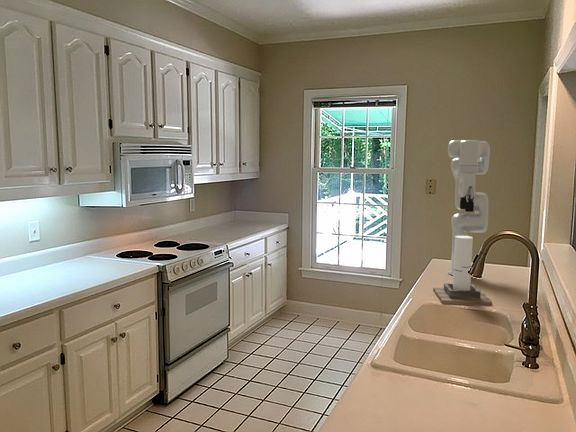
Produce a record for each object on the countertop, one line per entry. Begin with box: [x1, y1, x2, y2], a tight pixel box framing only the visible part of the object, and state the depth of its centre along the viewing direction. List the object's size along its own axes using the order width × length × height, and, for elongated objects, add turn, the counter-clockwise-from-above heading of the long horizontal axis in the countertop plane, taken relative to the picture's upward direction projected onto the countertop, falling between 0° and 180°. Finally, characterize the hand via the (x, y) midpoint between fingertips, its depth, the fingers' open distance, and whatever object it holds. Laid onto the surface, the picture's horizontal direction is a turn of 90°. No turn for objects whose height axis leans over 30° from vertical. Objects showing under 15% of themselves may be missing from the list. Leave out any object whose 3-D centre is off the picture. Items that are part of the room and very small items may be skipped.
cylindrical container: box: [452, 235, 474, 291], centre depth 213 cm, size 7×7×25 cm
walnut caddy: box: [432, 283, 493, 306], centre depth 214 cm, size 20×20×4 cm
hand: (466, 210), depth 211 cm, fingers open, 9 cm apart
